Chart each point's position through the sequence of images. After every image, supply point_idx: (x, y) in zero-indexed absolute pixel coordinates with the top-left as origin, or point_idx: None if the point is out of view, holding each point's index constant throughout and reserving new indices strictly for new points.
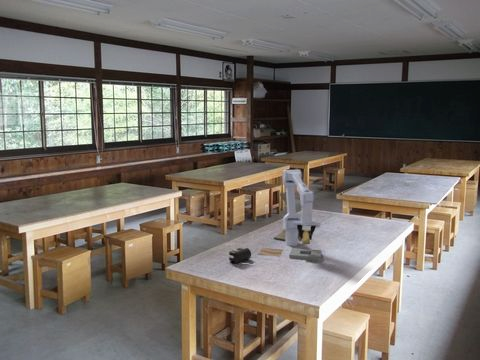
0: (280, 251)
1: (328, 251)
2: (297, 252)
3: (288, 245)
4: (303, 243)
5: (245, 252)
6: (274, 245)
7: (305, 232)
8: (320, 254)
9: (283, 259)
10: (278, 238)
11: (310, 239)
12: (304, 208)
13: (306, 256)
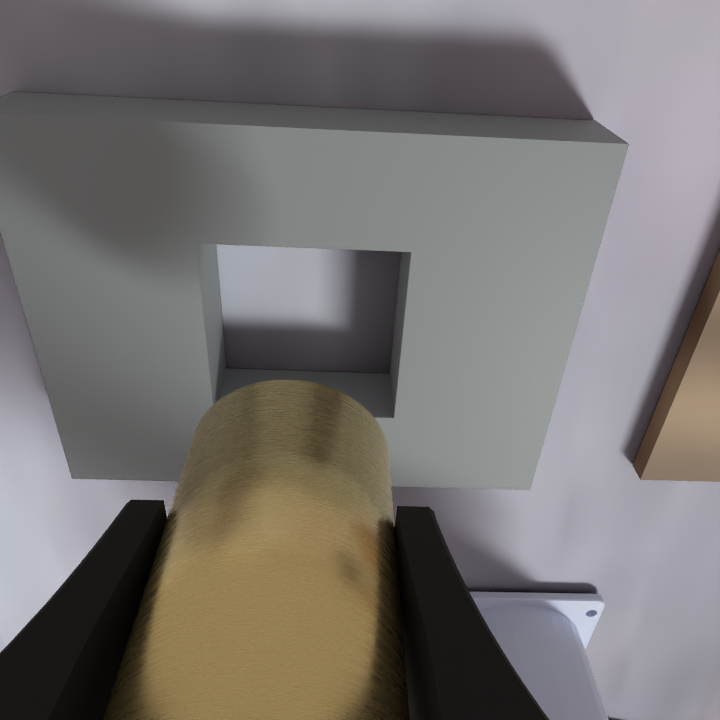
0: (698, 410)
1: (47, 551)
2: (451, 312)
3: (548, 612)
4: (342, 400)
5: None
6: (706, 607)
7: (263, 700)
8: (18, 290)
9: (706, 89)
10: None
11: (143, 509)
12: None
13: (261, 124)
